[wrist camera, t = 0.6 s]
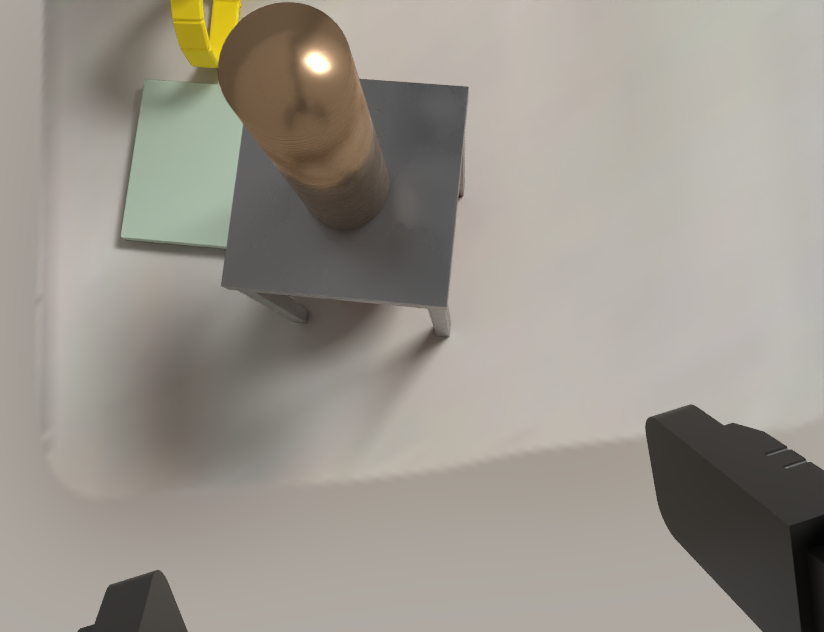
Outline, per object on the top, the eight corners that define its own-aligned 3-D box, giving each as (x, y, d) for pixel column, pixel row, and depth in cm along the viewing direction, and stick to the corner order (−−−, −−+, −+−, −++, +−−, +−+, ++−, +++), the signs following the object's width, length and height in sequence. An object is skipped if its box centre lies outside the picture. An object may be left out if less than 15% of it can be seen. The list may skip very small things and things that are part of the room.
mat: (149, 84, 38) (144, 78, 38) (306, 95, 38) (303, 90, 37) (125, 239, 38) (120, 237, 37) (286, 254, 37) (283, 251, 36)
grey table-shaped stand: (311, 169, 37) (143, -102, 18) (466, 182, 37) (471, -83, 17) (291, 323, 36) (93, 217, 17) (451, 339, 36) (437, 248, 16)
